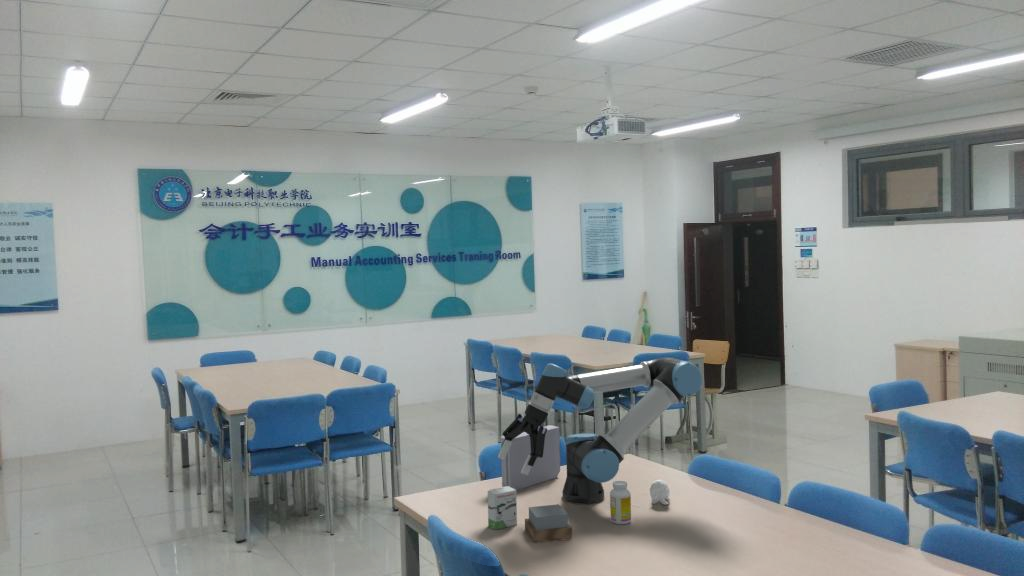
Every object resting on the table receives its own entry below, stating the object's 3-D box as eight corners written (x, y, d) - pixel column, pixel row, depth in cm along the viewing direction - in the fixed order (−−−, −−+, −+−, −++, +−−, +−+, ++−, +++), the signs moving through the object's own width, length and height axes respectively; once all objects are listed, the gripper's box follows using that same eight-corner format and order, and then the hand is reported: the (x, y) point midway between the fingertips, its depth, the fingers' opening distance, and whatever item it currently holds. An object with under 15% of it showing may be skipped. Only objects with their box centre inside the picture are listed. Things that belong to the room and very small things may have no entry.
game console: (499, 489, 288) (498, 437, 287) (550, 473, 306) (548, 425, 305) (510, 492, 283) (508, 439, 282) (560, 476, 302) (559, 427, 301)
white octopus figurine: (648, 480, 264) (655, 474, 276) (648, 505, 264) (655, 498, 275) (666, 482, 262) (673, 475, 273) (666, 507, 262) (673, 499, 273)
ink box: (495, 530, 244) (494, 494, 244) (487, 525, 249) (486, 490, 248) (518, 524, 249) (517, 489, 249) (509, 520, 253) (508, 485, 253)
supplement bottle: (633, 519, 251) (632, 481, 251) (627, 526, 245) (627, 486, 245) (614, 516, 254) (613, 479, 253) (608, 523, 248) (607, 484, 247)
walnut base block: (560, 527, 247) (560, 515, 247) (572, 540, 235) (571, 527, 235) (525, 531, 244) (524, 518, 244) (534, 544, 233) (534, 531, 233)
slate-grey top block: (558, 516, 246) (558, 504, 245) (568, 526, 236) (567, 514, 236) (528, 519, 243) (528, 507, 243) (536, 530, 234) (536, 517, 233)
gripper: (510, 393, 263) (483, 449, 261) (554, 416, 243) (526, 478, 241) (525, 399, 268) (499, 455, 266) (569, 423, 248) (542, 483, 246)
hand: (512, 466), depth 254 cm, fingers open, 13 cm apart
